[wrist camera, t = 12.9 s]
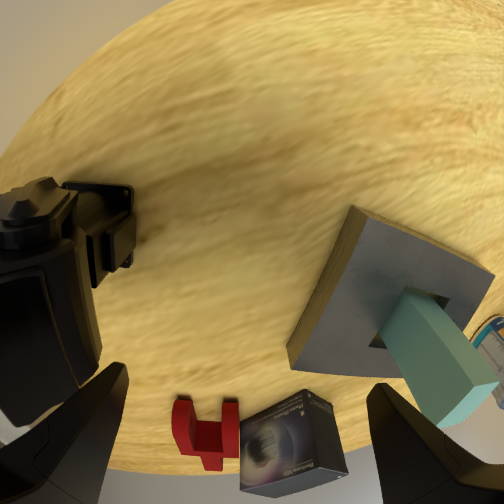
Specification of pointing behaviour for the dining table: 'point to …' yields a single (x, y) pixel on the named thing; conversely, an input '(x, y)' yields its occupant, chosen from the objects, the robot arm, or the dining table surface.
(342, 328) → the square-hole plate
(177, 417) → the mechanical linkage
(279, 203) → the dining table surface
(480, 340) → the beverage bottle
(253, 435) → the small box
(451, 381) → the teal peg
